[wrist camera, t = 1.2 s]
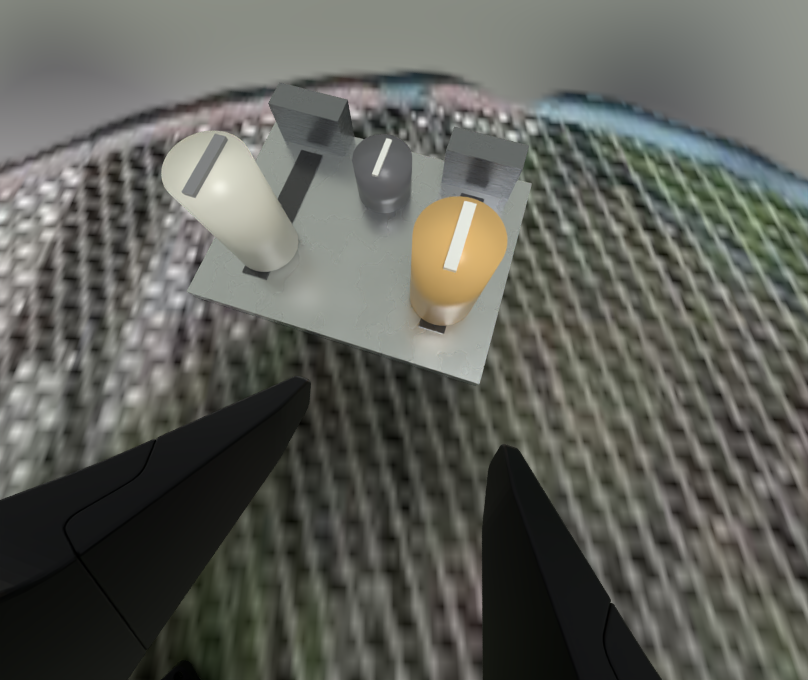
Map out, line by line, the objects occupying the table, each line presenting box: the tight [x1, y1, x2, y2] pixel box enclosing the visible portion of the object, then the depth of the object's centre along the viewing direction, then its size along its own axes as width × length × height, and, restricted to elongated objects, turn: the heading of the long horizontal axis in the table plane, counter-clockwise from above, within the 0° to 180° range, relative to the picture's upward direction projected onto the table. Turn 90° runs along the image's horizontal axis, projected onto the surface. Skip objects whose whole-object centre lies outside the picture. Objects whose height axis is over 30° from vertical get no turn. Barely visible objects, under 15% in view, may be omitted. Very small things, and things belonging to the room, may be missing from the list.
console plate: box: [187, 83, 531, 386], centre depth 22 cm, size 16×21×4 cm
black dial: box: [352, 134, 412, 213], centre depth 22 cm, size 4×4×3 cm
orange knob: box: [410, 196, 507, 326], centre depth 18 cm, size 4×4×7 cm
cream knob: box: [161, 131, 298, 272], centre depth 19 cm, size 4×4×7 cm
